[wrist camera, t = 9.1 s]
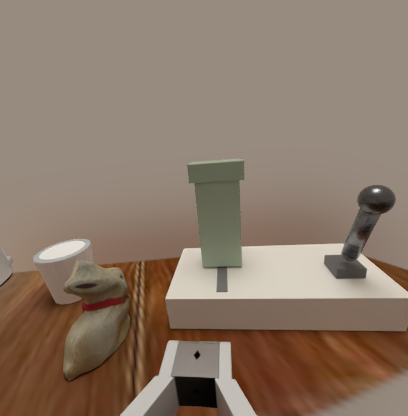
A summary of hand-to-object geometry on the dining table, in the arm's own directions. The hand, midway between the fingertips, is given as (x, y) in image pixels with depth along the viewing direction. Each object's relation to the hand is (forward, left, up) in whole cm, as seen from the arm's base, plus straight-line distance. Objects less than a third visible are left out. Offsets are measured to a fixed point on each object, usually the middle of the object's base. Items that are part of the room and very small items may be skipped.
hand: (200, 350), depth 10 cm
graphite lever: (+15, +14, -4) cm, 21 cm away
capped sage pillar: (+1, +17, -6) cm, 18 cm away
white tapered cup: (-21, +17, -10) cm, 29 cm away
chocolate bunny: (-12, +9, -10) cm, 18 cm away
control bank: (+7, +16, -10) cm, 20 cm away
